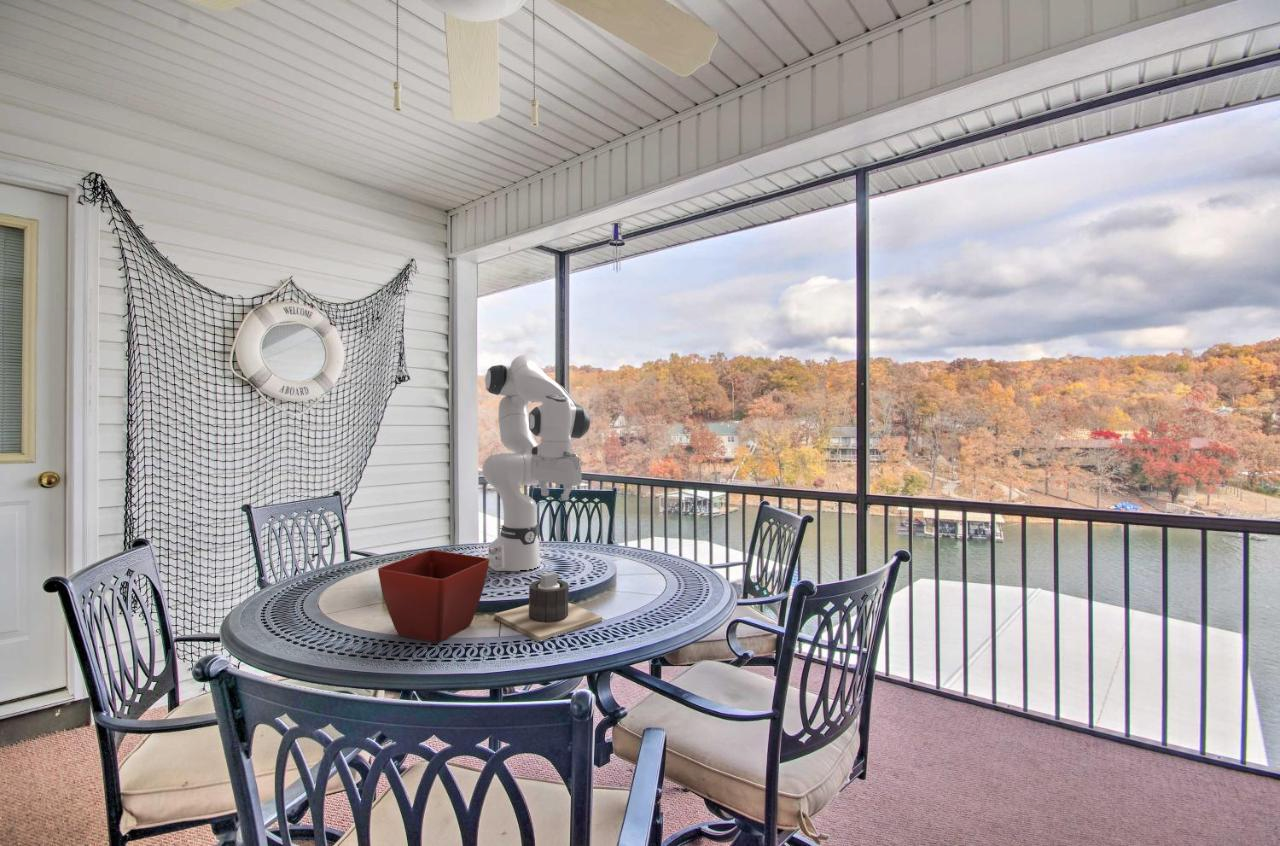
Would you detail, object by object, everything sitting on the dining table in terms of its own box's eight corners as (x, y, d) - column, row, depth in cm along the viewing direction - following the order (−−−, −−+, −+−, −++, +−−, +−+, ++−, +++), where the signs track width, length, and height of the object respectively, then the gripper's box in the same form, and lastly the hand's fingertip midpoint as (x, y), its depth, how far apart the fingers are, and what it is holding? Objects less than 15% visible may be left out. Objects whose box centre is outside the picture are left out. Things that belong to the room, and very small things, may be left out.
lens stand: (494, 618, 153) (495, 583, 153) (555, 601, 168) (556, 569, 167) (539, 642, 139) (540, 604, 139) (602, 621, 154) (603, 586, 153)
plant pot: (440, 652, 132) (441, 578, 132) (374, 638, 139) (375, 568, 138) (490, 622, 150) (491, 558, 150) (429, 611, 157) (430, 549, 156)
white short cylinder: (546, 597, 149) (546, 578, 149) (533, 592, 153) (533, 573, 153) (563, 593, 153) (564, 574, 153) (550, 587, 157) (551, 569, 157)
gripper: (587, 453, 165) (586, 501, 166) (544, 447, 179) (542, 492, 180) (570, 454, 161) (568, 504, 161) (526, 448, 175) (525, 494, 175)
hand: (554, 497), depth 171 cm, fingers open, 8 cm apart
